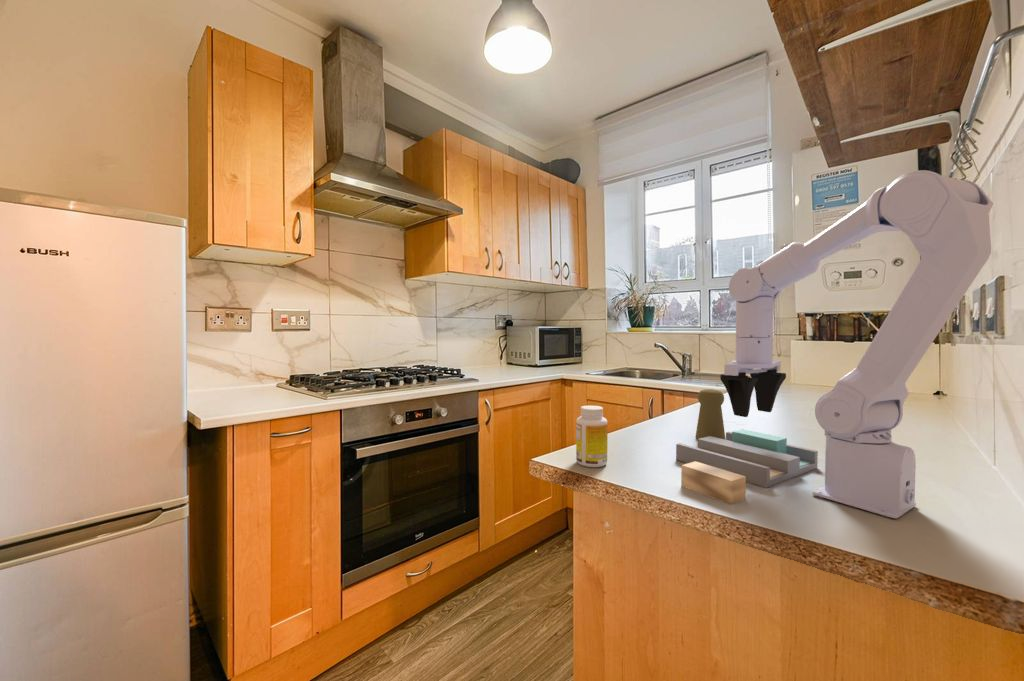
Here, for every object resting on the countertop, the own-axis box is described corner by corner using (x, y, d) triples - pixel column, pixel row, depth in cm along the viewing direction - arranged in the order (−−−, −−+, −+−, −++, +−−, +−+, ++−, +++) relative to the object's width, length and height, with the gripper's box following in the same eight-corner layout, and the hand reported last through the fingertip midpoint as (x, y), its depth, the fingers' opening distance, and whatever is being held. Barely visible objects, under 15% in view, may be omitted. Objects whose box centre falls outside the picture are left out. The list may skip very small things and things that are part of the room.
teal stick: (786, 457, 75) (786, 438, 75) (776, 460, 74) (776, 441, 74) (741, 446, 82) (742, 429, 82) (731, 449, 80) (732, 431, 80)
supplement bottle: (613, 463, 76) (613, 407, 75) (595, 470, 72) (595, 411, 72) (588, 456, 80) (588, 403, 79) (569, 463, 76) (569, 407, 76)
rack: (817, 467, 73) (817, 450, 73) (766, 487, 64) (766, 468, 64) (728, 446, 87) (728, 431, 87) (676, 459, 78) (676, 443, 78)
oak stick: (745, 500, 60) (745, 476, 60) (731, 506, 58) (731, 481, 58) (695, 482, 67) (695, 461, 67) (681, 487, 65) (681, 465, 65)
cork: (719, 436, 94) (719, 387, 94) (730, 443, 88) (731, 392, 88) (691, 435, 95) (692, 387, 95) (700, 443, 89) (701, 391, 89)
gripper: (753, 336, 82) (753, 406, 82) (708, 337, 74) (707, 414, 74) (793, 337, 76) (792, 412, 76) (748, 338, 68) (747, 421, 68)
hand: (753, 413), depth 75 cm, fingers open, 7 cm apart
